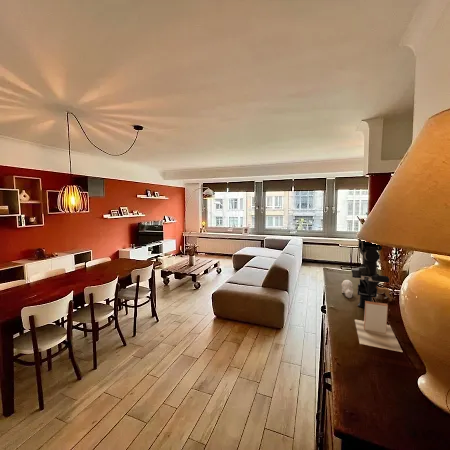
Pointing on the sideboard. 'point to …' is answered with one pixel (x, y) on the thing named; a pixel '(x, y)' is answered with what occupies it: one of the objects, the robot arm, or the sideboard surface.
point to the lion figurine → (384, 290)
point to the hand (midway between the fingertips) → (369, 295)
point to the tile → (375, 316)
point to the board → (377, 337)
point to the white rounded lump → (347, 288)
